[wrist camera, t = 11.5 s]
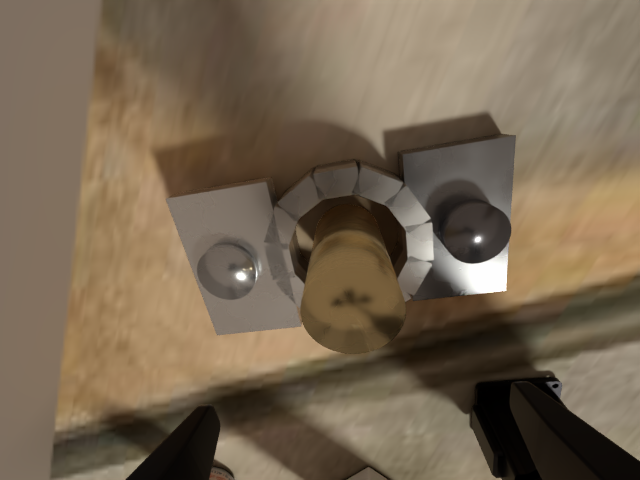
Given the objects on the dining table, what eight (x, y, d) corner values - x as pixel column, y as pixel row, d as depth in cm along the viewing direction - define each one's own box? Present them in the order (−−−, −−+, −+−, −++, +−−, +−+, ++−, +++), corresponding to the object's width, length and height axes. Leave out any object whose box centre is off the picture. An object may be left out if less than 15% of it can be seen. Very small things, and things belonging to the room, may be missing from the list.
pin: (375, 199, 20) (402, 259, 11) (381, 258, 21) (409, 348, 13) (310, 209, 20) (290, 273, 12) (321, 266, 22) (310, 357, 14)
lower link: (502, 133, 18) (532, 136, 15) (494, 279, 21) (518, 303, 19) (260, 175, 20) (247, 185, 17) (292, 302, 23) (285, 328, 20)
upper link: (416, 148, 18) (434, 156, 15) (423, 287, 22) (439, 320, 18) (189, 187, 20) (157, 202, 17) (231, 310, 24) (212, 343, 20)
